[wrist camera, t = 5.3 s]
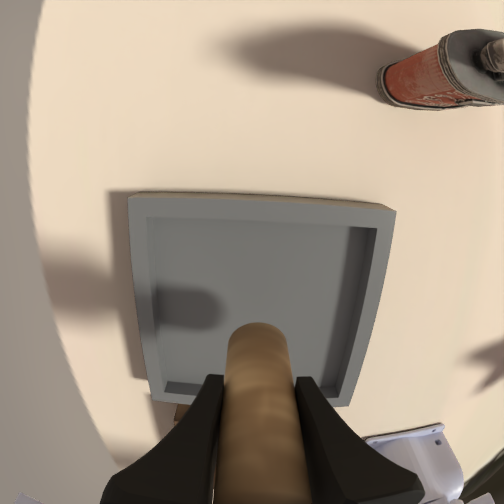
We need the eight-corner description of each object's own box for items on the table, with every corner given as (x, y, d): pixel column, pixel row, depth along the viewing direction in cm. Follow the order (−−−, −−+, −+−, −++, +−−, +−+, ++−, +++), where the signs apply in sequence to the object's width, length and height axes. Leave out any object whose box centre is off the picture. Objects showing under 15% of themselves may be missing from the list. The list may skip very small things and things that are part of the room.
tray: (382, 204, 17) (396, 211, 15) (342, 388, 22) (348, 406, 20) (140, 191, 17) (127, 197, 15) (158, 382, 21) (152, 400, 20)
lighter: (382, 114, 15) (503, 98, 6) (369, 60, 14) (473, -1, 5) (480, 109, 15) (594, 111, 5) (469, 62, 14) (578, 41, 4)
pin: (290, 323, 15) (321, 488, 6) (283, 369, 16) (303, 522, 7) (228, 320, 15) (209, 489, 6) (227, 367, 16) (214, 522, 7)
